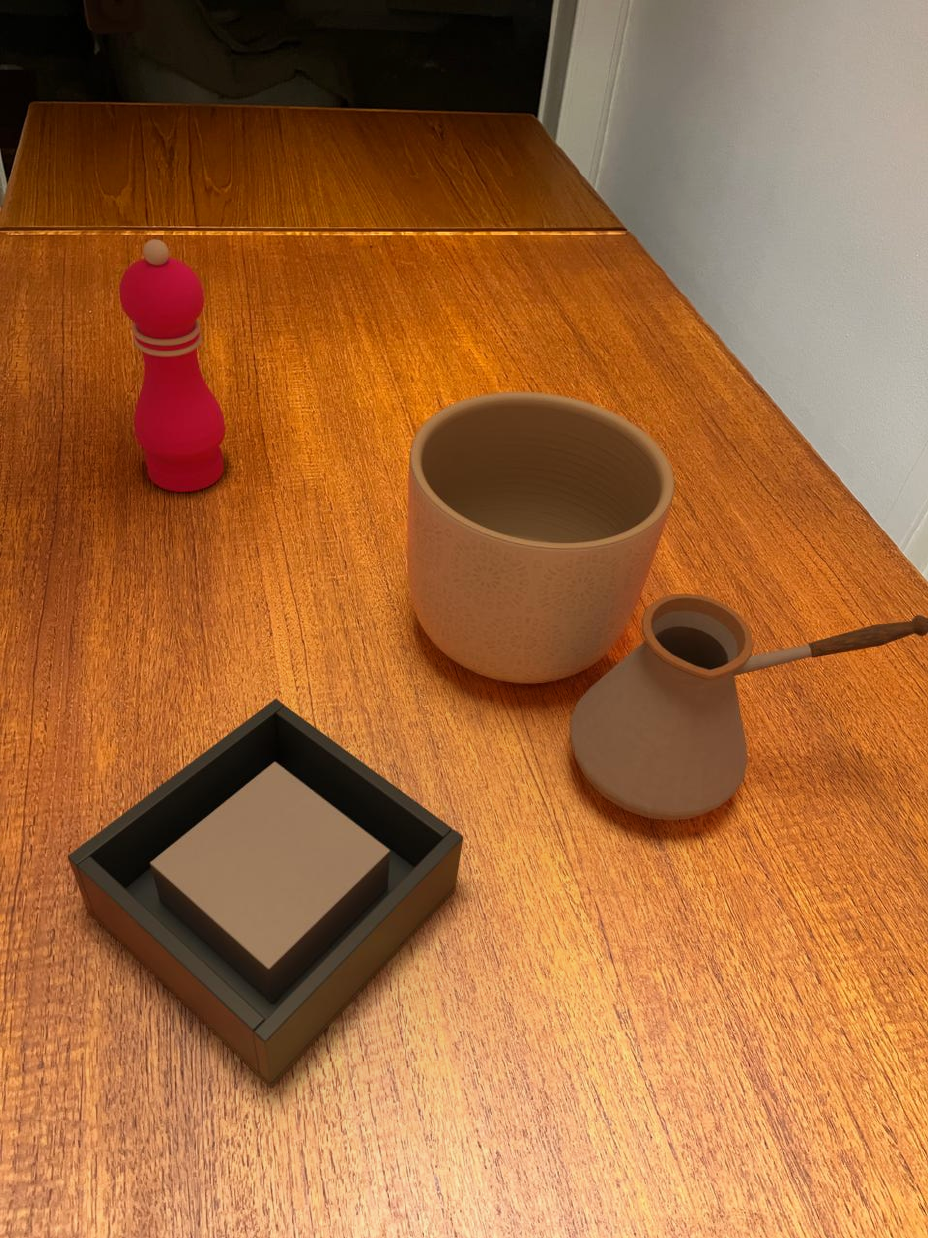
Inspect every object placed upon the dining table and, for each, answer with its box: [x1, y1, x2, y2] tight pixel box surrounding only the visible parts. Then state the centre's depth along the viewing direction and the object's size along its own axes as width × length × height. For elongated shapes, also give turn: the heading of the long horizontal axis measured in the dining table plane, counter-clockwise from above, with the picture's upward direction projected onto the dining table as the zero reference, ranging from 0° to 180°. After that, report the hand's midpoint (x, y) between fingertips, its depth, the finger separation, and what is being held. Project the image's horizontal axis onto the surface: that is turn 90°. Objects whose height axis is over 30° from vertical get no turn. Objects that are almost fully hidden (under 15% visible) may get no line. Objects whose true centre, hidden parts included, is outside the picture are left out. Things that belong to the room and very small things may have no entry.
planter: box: [406, 391, 676, 684], centre depth 67 cm, size 17×17×15 cm
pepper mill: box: [118, 238, 226, 493], centre depth 76 cm, size 7×7×20 cm
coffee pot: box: [569, 592, 928, 822], centre depth 60 cm, size 21×12×15 cm, turn 92°
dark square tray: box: [67, 698, 464, 1089], centre depth 53 cm, size 15×15×6 cm
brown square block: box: [150, 762, 390, 1004], centre depth 53 cm, size 9×9×4 cm
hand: (92, 8), depth 58 cm, fingers open, 9 cm apart
